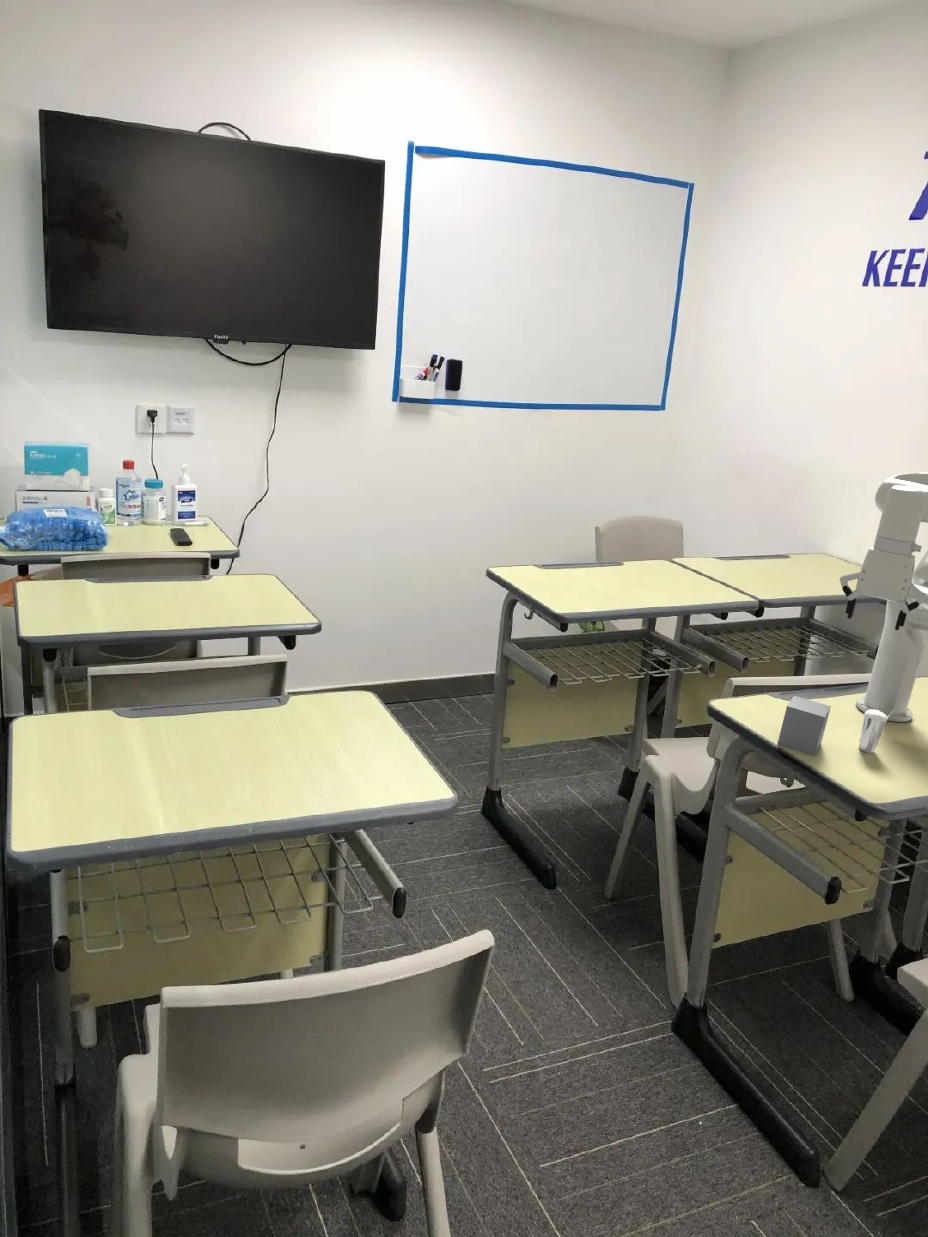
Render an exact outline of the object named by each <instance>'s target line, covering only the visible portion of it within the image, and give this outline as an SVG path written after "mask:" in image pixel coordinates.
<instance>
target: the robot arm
mask: <svg viewBox="0 0 928 1237" xmlns="http://www.w3.org/2000/svg"><path fill="white" fill-rule="evenodd" d="M874 501H875V506H876V508H877V509H878V510H879V511H880V513H881V517H880V521H879V524H878V527H877V532H876V536H875V539H874V544H873V546H870V547H869V548H868V551H867V553H866V555H865V557H864V560H863V563H862V565H861V568H860V570H859V572H858V571H857V572H853V573H850V574H845V575H842V576H840V577H839V582H840V585H841V588H842V591H843V593H844V595H845V596H846V597H847V600H848V601H847V605H846V609H845V613H844V614H847V617H846V619H848V620H850V619H852V617H853V616H854V612H855V608H856V604H857V601H858V600H857V597H859V596H861V595H863V596H867V597H871V598H875V599H881V600H884V601H886V605H885V606H886V607H885V619H884V625H883V630H882V633H881V637H880V641H879V644H878V648H877V651H876V652H877V653H876V656H875V660H874V662H873V667H872V670H871V672H870V673H871V674H870V678H869V682H868V683H867V684H868V685H867V687H866V688H867V689H866V691H865V692H866V693H865V695H864V696H860V697H858V698H857V699H856V702H855V705H856V707H857V708H858V709H859V710H860V711H862V712H863V713H865V712H866V711H867V710H870V709H872V710H878V711H880V712H883V713H884V714H885V715H886V716H887V717H888V715H889V714H890V713H891V712H892V711H893V710H894V711H893V712H892V714H891V715H890V716H889V717H888V719H887V721H890V722H896V723H897V722H898V723H904V722H910V720H912V718H913V712H912V711H911V709H909V708H908V706H909V704H910V699H911V697H912V693H913V690H914V687H915V683H916V679H917V676H918V672H919V669H920V666H921V662H922V659H923V657H924V656H923V655H924V652H925V642H924V638H923V635H922V632H921V630H922V631H925V632H928V550H926V552H925V553H924V555H923V557H922V558H921V559H920V561H919V563H918V564H917V566H916V555H915V554H913V553H917V552H918V553H921V552H922V551H921V550H922V545H919V544H918V543H917V542H916V541H917V540H916V539H917V536H918V533H919V529H920V525H921V523H925V524H928V472H908V473H899V474H895V475H892V476H890V477H888V478H886V479H885V480H883V482H882V483H881V484H880V485H879V486H878V488H877V490H876V492H875V498H874ZM915 566H916V568H915ZM854 580H857V582H856V585H855V589H854V590H852V589H851V587H850V586H849V583H848V582H850V581H854Z"/></svg>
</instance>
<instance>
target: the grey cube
mask: <svg viewBox="0 0 928 1237" xmlns="http://www.w3.org/2000/svg"><path fill="white" fill-rule="evenodd" d="M785 708H786V709H785V712H784V716H783V721H782V724H781V727H780V733H779V735H778V740H777V745H779V746H782V747H785V748H789V749H793V750H795V751H799V752H802V753H805V754H808V755H811V756H816V754H817V752H818V750H819V749H820V747H821V744H822V741H823V738H824V733H825V730H826V726H827V723H828V719H829V715H830V712H831V708H832V705H828V704H825V703H821V702H818V701H814V700H810V699H807V698H804V697H800V696H796V695H793V697H792V698H791V700H790V701H789V702H788V704H787V705H786V707H785Z"/></svg>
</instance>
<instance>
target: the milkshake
mask: <svg viewBox="0 0 928 1237" xmlns="http://www.w3.org/2000/svg"><path fill="white" fill-rule="evenodd" d="M893 711H894V710H893ZM893 711H892V712H893ZM892 712H891V713H890V714H889V715H888V717H889V716H890V715H891V714H892ZM888 717H887V716H886V715H885V714H884V713H883V712H880V711H878V710H872V709H870V710H867V711H866V712H864V715H863V721H862V722H863V723H862V728H861V734H860V739H859V745H858V749H859V750H860V751H861V752H864V753H865V754H866V753H867V754H875V751H876V748H877V746H878V743H879V740H880V738H881V735H882V733H883V730H884V729H885V726H886V724H887V721H888V720H887V719H888Z"/></svg>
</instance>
